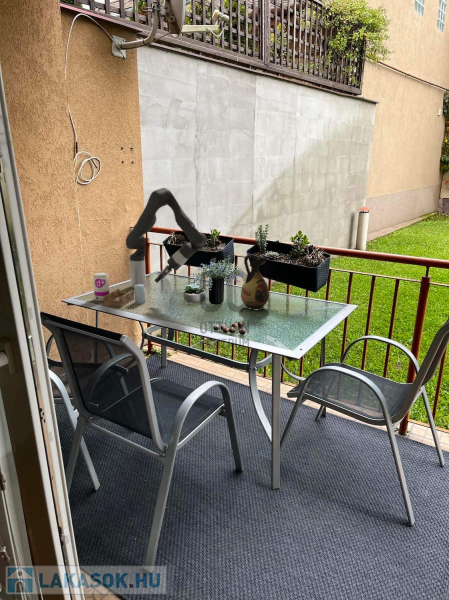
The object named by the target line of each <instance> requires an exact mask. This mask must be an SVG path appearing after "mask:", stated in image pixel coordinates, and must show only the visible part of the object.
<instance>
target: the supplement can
mask: <svg viewBox="0 0 449 600" xmlns="http://www.w3.org/2000/svg"><path fill="white" fill-rule="evenodd" d="M92 279H93V290H94V299H95V300H96V301H98V302H104V296H106V295H108V294H110V281H109V275H108V273H107V272H103V271H102V272H95V273H94V275H93V277H92Z"/></svg>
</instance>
